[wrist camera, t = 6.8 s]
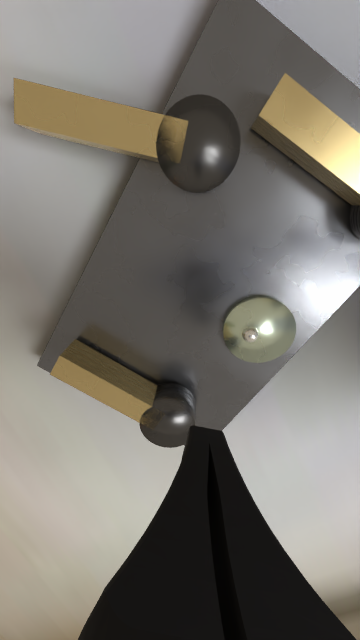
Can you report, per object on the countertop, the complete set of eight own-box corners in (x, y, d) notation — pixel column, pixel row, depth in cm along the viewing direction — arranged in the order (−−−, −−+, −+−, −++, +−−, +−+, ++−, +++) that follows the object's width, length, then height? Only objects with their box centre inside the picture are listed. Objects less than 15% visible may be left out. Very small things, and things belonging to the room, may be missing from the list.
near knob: (245, 120, 13) (252, 106, 11) (223, 200, 15) (227, 200, 13) (42, 69, 13) (13, 46, 11) (40, 156, 15) (14, 149, 13)
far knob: (206, 399, 20) (206, 422, 18) (178, 431, 21) (176, 455, 19) (81, 327, 19) (66, 343, 16) (60, 366, 20) (44, 385, 18)
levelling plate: (443, 178, 15) (481, 175, 13) (200, 441, 24) (199, 464, 21) (227, -3, 13) (231, -41, 11) (45, 357, 21) (29, 373, 19)
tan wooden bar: (443, 197, 14) (483, 196, 12) (385, 258, 15) (412, 267, 13) (287, 68, 13) (303, 43, 11) (237, 148, 14) (243, 139, 12)
